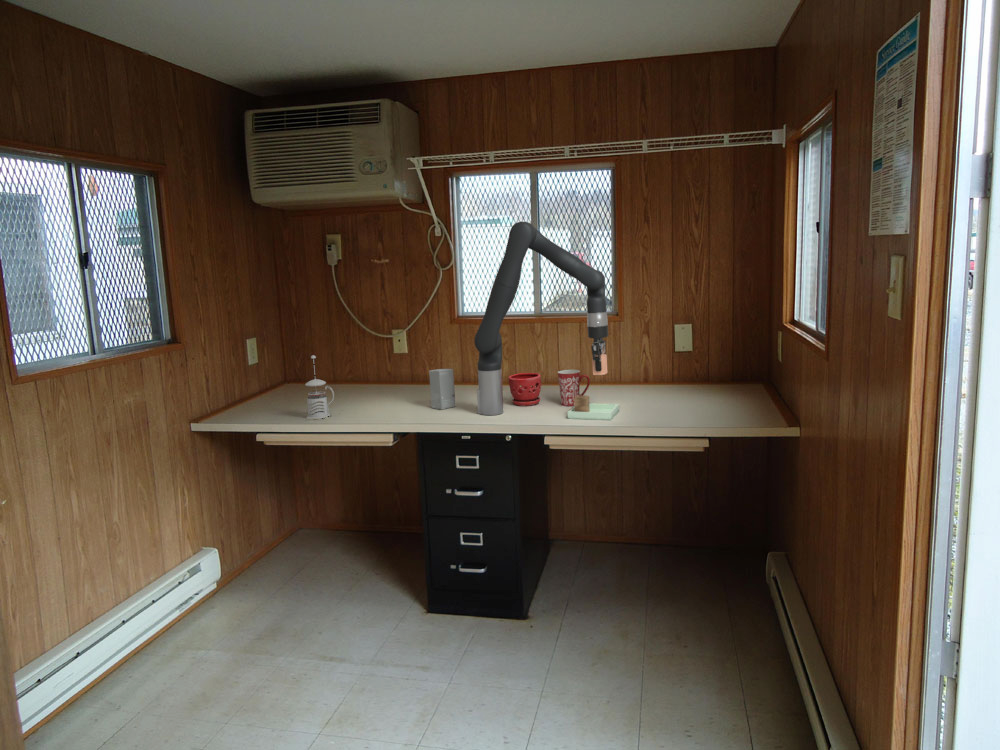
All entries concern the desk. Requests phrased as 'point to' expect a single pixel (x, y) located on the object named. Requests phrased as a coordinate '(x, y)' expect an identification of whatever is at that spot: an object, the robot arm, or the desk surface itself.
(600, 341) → the robot arm
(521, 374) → the plant pot
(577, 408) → the walnut block
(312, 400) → the french press
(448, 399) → the skincare box
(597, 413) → the tray
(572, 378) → the mug
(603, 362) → the terracotta block
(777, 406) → the desk surface
